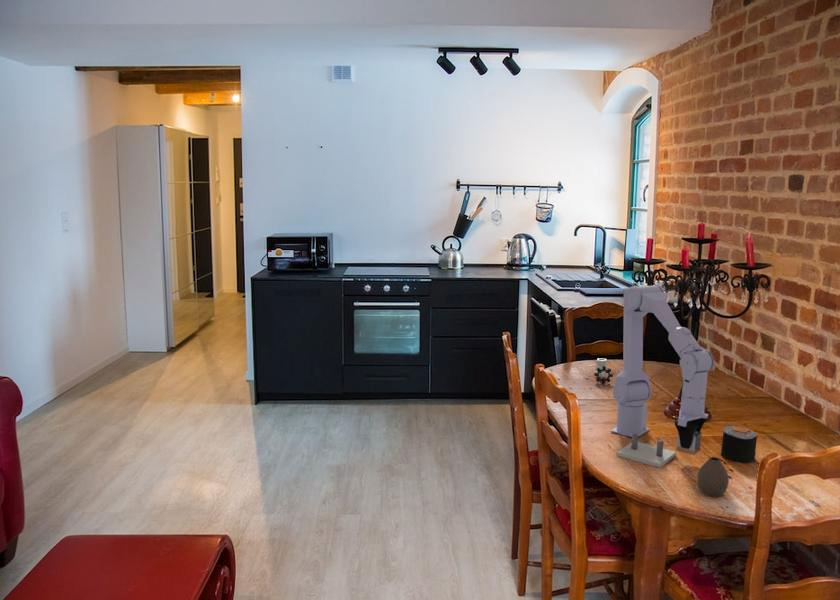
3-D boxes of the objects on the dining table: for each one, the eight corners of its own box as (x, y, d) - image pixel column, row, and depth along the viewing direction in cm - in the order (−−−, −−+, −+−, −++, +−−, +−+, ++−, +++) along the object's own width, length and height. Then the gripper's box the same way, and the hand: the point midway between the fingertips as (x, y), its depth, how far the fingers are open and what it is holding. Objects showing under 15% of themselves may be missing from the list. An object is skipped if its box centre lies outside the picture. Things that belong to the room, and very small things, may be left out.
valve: (591, 374, 272) (593, 383, 261) (592, 357, 271) (594, 365, 260) (609, 375, 271) (612, 384, 260) (610, 358, 270) (613, 367, 259)
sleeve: (682, 445, 193) (684, 427, 192) (699, 450, 191) (701, 432, 190) (676, 450, 190) (678, 432, 189) (694, 455, 187) (695, 437, 186)
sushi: (728, 448, 201) (731, 421, 199) (759, 457, 195) (762, 429, 193) (715, 456, 195) (718, 428, 194) (746, 465, 189) (749, 436, 188)
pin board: (633, 444, 203) (634, 427, 202) (675, 455, 195) (677, 437, 194) (616, 455, 194) (618, 438, 193) (660, 467, 187) (662, 449, 186)
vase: (691, 492, 172) (694, 458, 171) (703, 484, 177) (707, 450, 176) (719, 502, 168) (723, 467, 166) (732, 493, 172) (735, 459, 171)
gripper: (699, 405, 179) (694, 457, 182) (718, 392, 191) (713, 441, 193) (671, 399, 184) (667, 449, 186) (691, 386, 195) (686, 434, 197)
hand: (688, 444), depth 190 cm, fingers closed on sleeve, 5 cm apart
